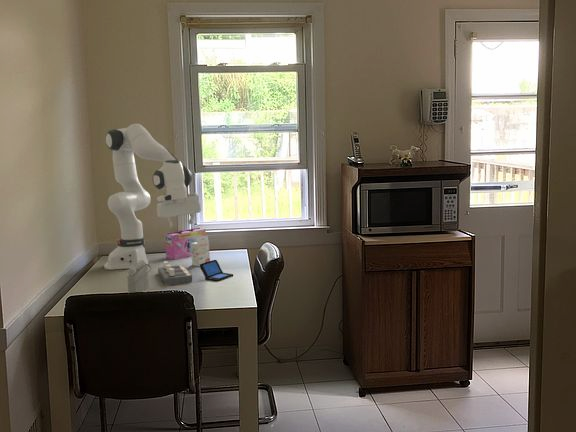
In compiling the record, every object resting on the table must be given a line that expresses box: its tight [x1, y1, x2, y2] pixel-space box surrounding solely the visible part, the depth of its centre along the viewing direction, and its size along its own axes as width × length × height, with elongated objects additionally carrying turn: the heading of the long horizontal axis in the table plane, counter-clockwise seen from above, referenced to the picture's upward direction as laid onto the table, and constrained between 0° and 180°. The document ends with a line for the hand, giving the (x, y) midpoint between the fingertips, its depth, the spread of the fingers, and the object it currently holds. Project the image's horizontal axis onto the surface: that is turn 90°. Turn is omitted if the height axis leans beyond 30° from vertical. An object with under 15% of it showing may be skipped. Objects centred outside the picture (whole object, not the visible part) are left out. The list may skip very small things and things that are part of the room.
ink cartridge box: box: [191, 235, 211, 267], centre depth 307 cm, size 9×5×15 cm, turn 143°
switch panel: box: [157, 264, 193, 286], centre depth 282 cm, size 12×24×3 cm, turn 20°
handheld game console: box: [199, 259, 234, 283], centre depth 279 cm, size 12×11×7 cm
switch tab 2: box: [169, 268, 175, 276], centre depth 273 cm, size 2×3×3 cm, turn 21°
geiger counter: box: [126, 260, 152, 293], centre depth 250 cm, size 14×6×25 cm
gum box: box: [164, 227, 207, 260], centre depth 331 cm, size 24×8×14 cm, turn 134°
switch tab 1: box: [163, 260, 170, 269], centre depth 288 cm, size 2×3×3 cm, turn 20°
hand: (181, 225), depth 270 cm, fingers open, 8 cm apart
